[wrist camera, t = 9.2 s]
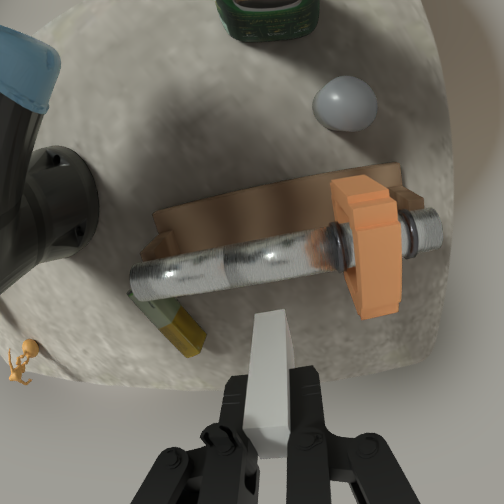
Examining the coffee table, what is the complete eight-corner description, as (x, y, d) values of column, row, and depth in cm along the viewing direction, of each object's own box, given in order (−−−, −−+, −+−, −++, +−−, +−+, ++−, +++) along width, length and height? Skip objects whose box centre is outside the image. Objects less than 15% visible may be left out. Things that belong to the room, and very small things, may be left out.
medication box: (138, 276, 36) (124, 293, 32) (151, 267, 35) (138, 284, 31) (194, 340, 40) (186, 360, 36) (208, 334, 39) (201, 354, 35)
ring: (341, 269, 29) (363, 329, 20) (327, 176, 25) (353, 203, 16) (369, 264, 28) (399, 320, 19) (358, 171, 24) (398, 195, 16)
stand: (180, 279, 35) (162, 310, 29) (156, 211, 32) (129, 231, 26) (402, 239, 30) (425, 264, 24) (395, 162, 27) (423, 172, 21)
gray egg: (318, 133, 27) (328, 135, 21) (307, 89, 25) (315, 79, 20) (362, 127, 26) (382, 128, 21) (352, 83, 24) (370, 73, 19)
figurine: (21, 326, 44) (-10, 361, 34) (36, 327, 44) (2, 365, 33) (39, 356, 48) (12, 392, 37) (55, 359, 47) (27, 397, 36)
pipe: (156, 289, 28) (140, 312, 25) (141, 253, 27) (122, 273, 23) (423, 241, 24) (443, 260, 20) (422, 199, 22) (444, 212, 18)
